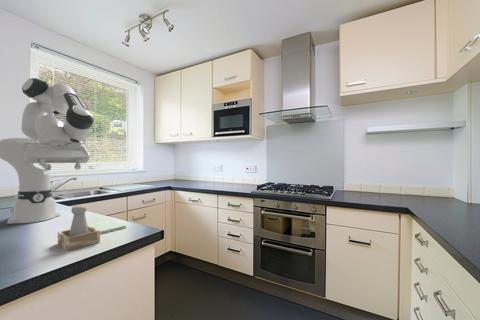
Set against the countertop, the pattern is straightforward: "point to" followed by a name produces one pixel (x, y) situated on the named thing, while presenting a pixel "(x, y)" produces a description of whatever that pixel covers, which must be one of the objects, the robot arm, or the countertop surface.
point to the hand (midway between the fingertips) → (63, 168)
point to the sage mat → (107, 226)
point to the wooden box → (78, 239)
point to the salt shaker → (78, 221)
